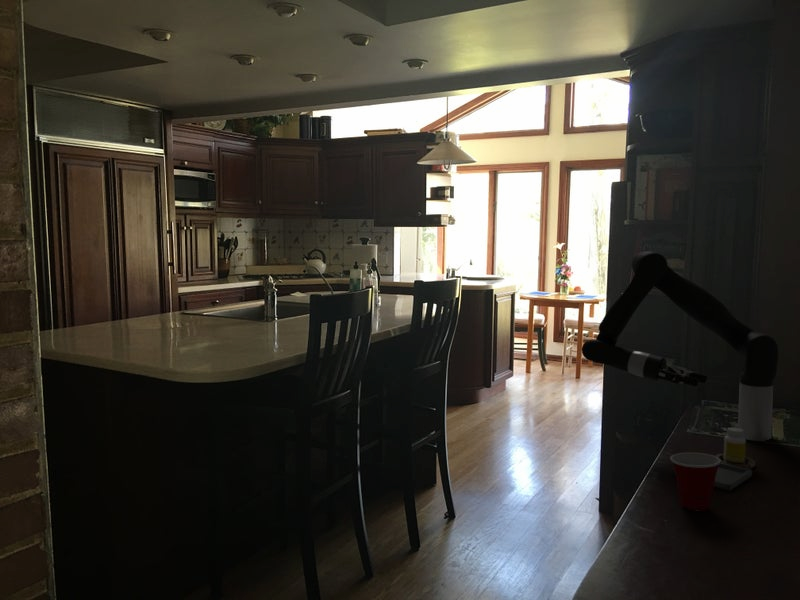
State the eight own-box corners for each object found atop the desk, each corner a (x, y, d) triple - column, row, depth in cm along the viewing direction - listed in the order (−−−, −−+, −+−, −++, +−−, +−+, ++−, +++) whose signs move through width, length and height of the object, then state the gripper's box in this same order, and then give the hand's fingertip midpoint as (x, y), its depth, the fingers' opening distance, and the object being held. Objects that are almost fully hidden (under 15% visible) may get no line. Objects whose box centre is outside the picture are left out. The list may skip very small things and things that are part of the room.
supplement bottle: (749, 466, 175) (750, 432, 174) (729, 467, 175) (730, 432, 174) (738, 460, 180) (740, 426, 180) (719, 460, 181) (720, 426, 180)
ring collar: (723, 455, 185) (723, 451, 184) (759, 463, 177) (759, 459, 177) (709, 463, 178) (709, 459, 178) (745, 472, 171) (745, 467, 171)
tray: (698, 462, 179) (698, 457, 179) (752, 475, 168) (752, 470, 168) (674, 476, 169) (674, 470, 169) (729, 491, 158) (729, 485, 158)
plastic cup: (679, 493, 157) (680, 446, 156) (726, 506, 150) (727, 456, 149) (661, 507, 150) (662, 457, 149) (709, 520, 142) (710, 468, 141)
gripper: (641, 355, 188) (698, 371, 177) (657, 351, 198) (712, 366, 188) (635, 380, 189) (692, 397, 179) (652, 374, 200) (706, 390, 189)
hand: (702, 381), depth 183 cm, fingers open, 8 cm apart
